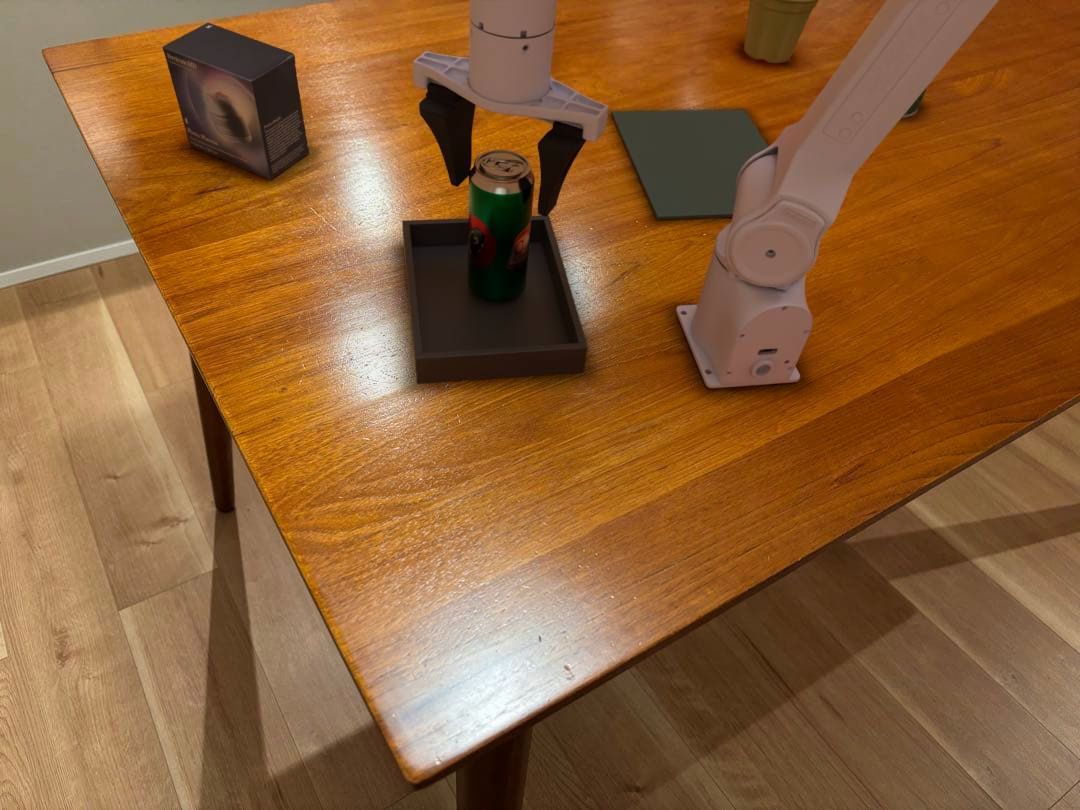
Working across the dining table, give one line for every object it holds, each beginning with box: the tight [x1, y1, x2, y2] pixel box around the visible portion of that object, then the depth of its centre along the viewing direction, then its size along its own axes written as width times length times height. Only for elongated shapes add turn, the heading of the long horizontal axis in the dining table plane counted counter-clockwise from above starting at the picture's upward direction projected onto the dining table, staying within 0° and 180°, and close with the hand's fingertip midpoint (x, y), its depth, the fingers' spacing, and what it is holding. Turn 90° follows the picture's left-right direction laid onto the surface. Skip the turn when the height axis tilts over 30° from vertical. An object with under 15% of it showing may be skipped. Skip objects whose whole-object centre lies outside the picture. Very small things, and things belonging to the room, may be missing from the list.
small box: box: [161, 22, 310, 181], centre depth 78 cm, size 11×6×10 cm, turn 62°
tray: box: [401, 214, 589, 385], centre depth 69 cm, size 17×13×3 cm
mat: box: [610, 109, 769, 221], centre depth 87 cm, size 20×16×1 cm
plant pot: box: [743, 0, 819, 64], centre depth 103 cm, size 9×9×9 cm
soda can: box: [467, 149, 536, 302], centre depth 66 cm, size 5×5×12 cm
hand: (503, 194), depth 64 cm, fingers open, 7 cm apart
